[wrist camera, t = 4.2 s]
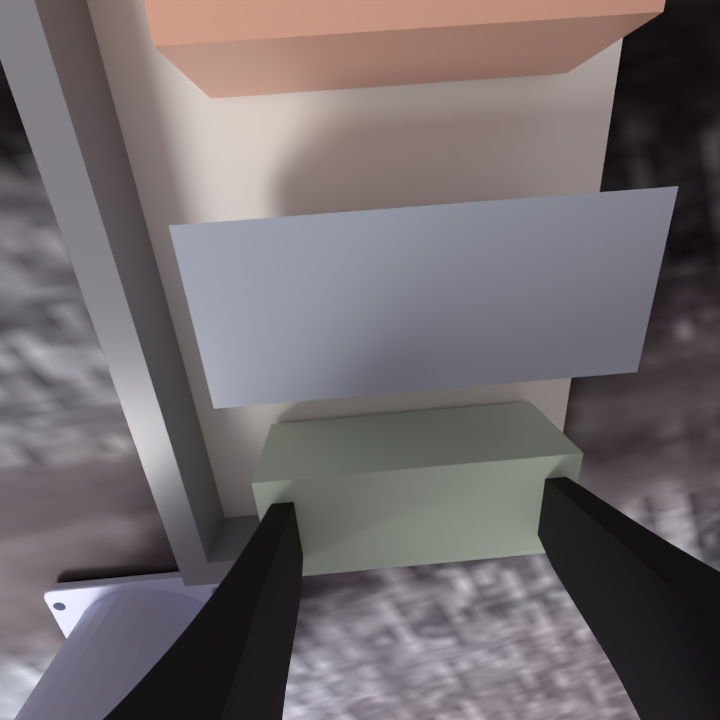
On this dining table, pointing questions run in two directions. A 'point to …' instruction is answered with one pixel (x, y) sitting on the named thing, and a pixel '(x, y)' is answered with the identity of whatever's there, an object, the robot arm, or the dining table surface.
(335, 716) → the dining table surface
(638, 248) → the key slate
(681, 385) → the dining table surface
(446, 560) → the key sage
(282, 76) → the key terracotta
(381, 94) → the keypad
